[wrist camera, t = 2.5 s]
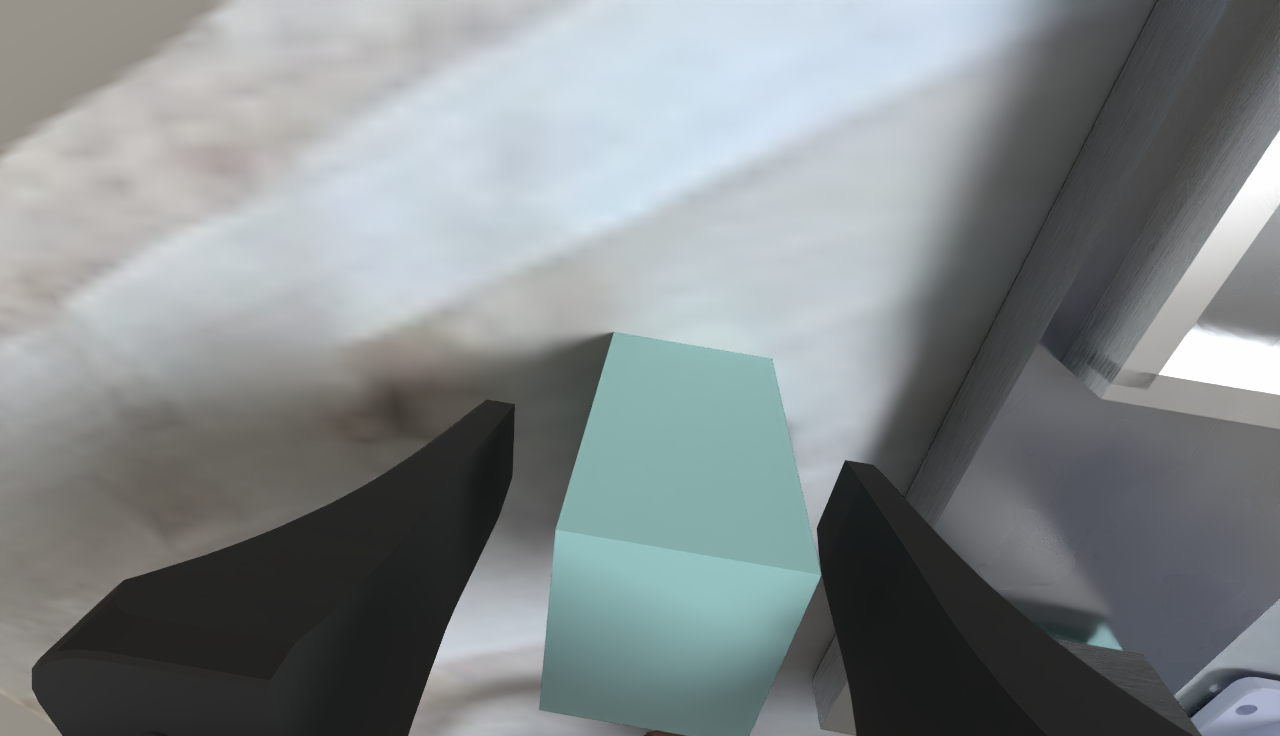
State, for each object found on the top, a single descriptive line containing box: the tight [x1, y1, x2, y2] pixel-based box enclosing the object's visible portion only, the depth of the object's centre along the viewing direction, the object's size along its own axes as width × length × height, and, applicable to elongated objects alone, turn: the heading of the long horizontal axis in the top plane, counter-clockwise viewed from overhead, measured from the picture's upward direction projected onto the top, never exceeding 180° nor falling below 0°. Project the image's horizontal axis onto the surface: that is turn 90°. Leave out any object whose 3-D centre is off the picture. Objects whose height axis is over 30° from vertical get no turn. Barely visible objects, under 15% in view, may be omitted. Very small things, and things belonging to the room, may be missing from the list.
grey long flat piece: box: [812, 0, 1280, 736], centre depth 10 cm, size 22×8×8 cm, turn 172°
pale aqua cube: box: [539, 332, 821, 736], centre depth 11 cm, size 5×4×6 cm
